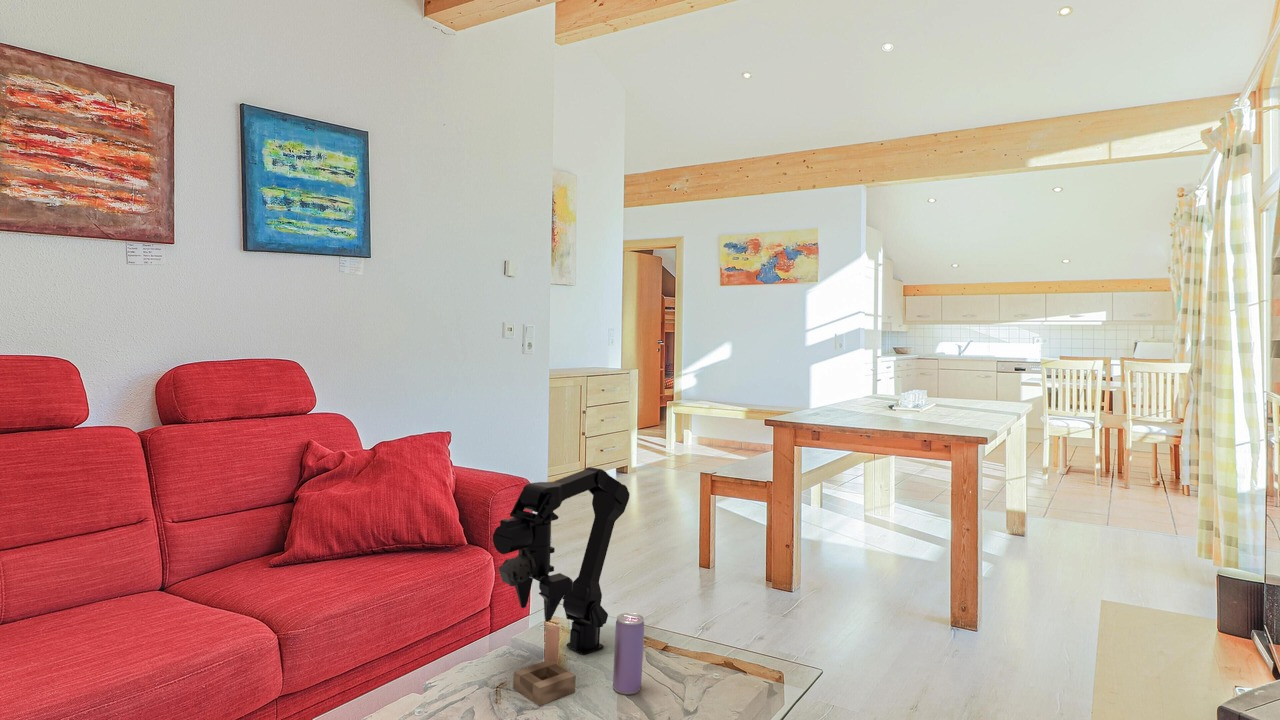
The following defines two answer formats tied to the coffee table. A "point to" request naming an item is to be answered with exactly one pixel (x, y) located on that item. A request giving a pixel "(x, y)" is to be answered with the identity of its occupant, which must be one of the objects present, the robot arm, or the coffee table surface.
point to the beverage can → (628, 653)
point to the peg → (552, 643)
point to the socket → (544, 682)
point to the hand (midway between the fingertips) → (535, 614)
